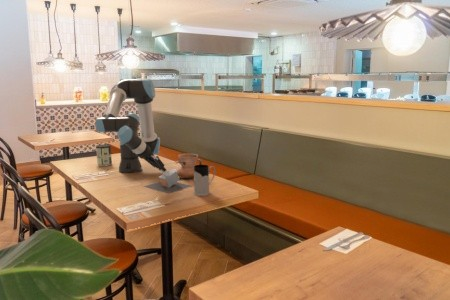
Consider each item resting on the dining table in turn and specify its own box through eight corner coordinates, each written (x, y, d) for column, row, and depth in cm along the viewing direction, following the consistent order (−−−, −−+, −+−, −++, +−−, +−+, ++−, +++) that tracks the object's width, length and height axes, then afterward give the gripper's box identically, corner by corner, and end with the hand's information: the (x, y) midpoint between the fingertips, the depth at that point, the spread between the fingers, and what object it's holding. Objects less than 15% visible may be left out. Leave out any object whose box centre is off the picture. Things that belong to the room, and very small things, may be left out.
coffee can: (105, 162, 282) (104, 143, 280) (115, 163, 277) (113, 145, 274) (94, 165, 274) (92, 146, 271) (103, 166, 268) (102, 147, 266)
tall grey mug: (190, 193, 203) (189, 166, 201) (209, 187, 213) (209, 162, 210) (201, 196, 197) (200, 168, 194) (220, 191, 207) (220, 164, 204)
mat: (143, 187, 216) (143, 186, 216) (167, 180, 230) (167, 179, 230) (168, 194, 202) (168, 193, 202) (192, 186, 216) (192, 186, 216)
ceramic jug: (180, 181, 227) (179, 158, 224) (171, 176, 239) (171, 154, 236) (207, 178, 235) (207, 156, 232) (197, 173, 248) (197, 152, 245)
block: (158, 177, 214) (169, 169, 220) (161, 186, 216) (172, 178, 222) (165, 179, 210) (176, 171, 216) (168, 188, 212) (179, 179, 218)
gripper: (129, 153, 201) (156, 177, 217) (144, 156, 193) (171, 180, 208) (137, 142, 204) (163, 166, 220) (152, 144, 196) (178, 169, 211)
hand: (167, 173), depth 214 cm, fingers closed
